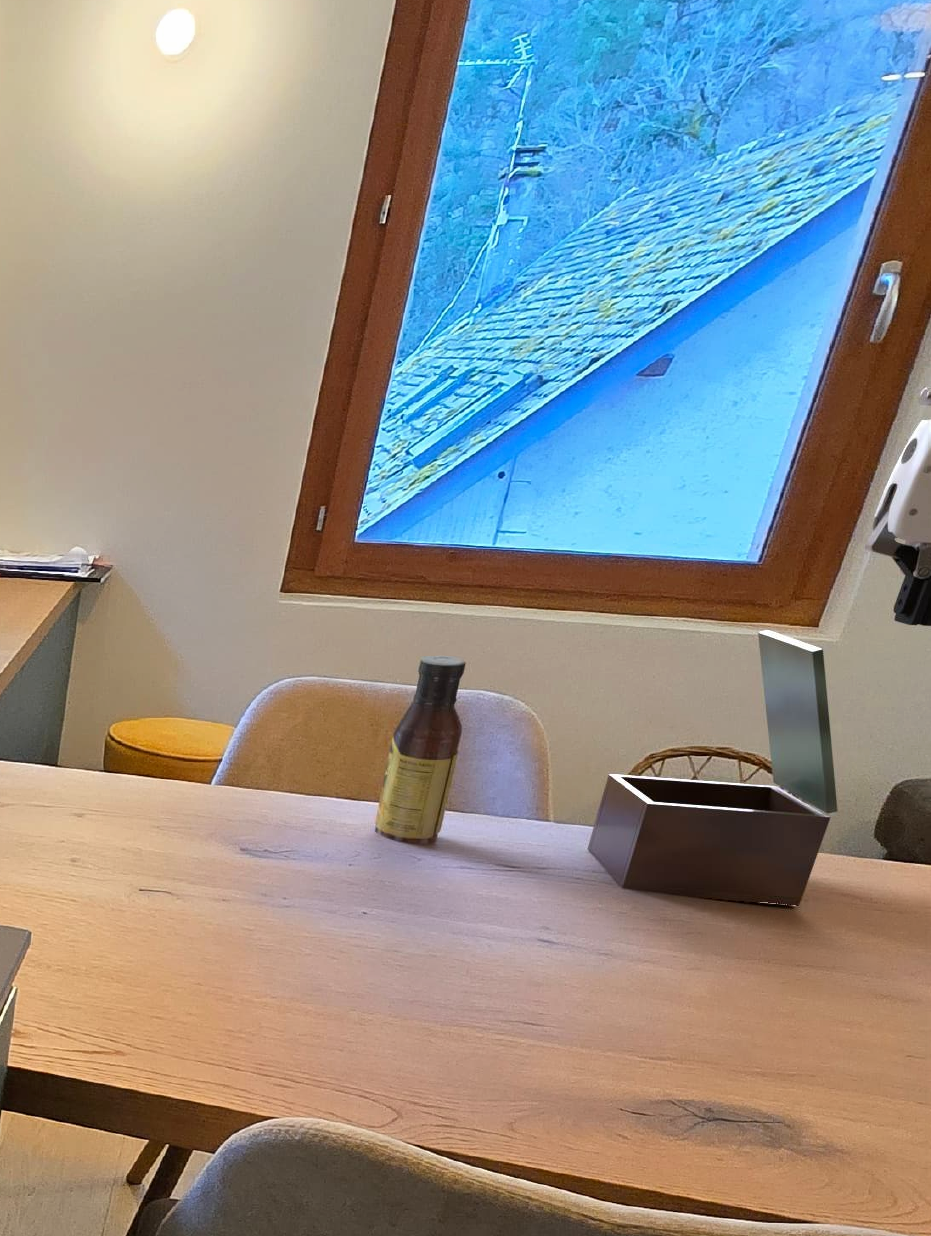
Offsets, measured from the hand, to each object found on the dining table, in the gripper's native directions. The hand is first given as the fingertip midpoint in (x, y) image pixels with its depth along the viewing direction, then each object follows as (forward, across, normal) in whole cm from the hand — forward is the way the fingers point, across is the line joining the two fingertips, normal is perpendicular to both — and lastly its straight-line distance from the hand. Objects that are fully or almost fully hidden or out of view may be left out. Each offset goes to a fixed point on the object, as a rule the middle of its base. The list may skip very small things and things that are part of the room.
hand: (912, 623), depth 122 cm
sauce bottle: (+26, -36, +4) cm, 44 cm away
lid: (+9, -7, 0) cm, 11 cm away
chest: (+26, -11, 0) cm, 28 cm away
